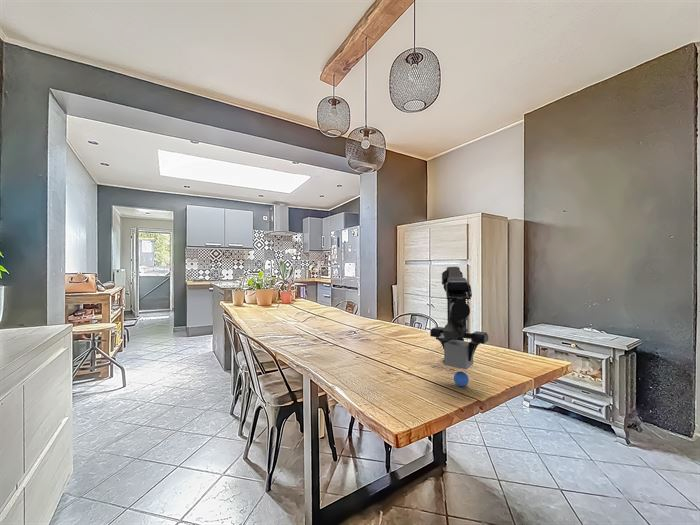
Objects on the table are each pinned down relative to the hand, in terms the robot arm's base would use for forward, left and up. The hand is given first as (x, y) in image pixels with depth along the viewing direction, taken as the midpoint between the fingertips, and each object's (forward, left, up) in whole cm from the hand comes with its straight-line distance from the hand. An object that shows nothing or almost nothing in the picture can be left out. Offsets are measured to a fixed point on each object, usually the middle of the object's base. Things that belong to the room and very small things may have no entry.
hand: (458, 359), depth 106 cm
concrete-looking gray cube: (0, 0, -2) cm, 2 cm away
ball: (0, +1, -7) cm, 7 cm away
